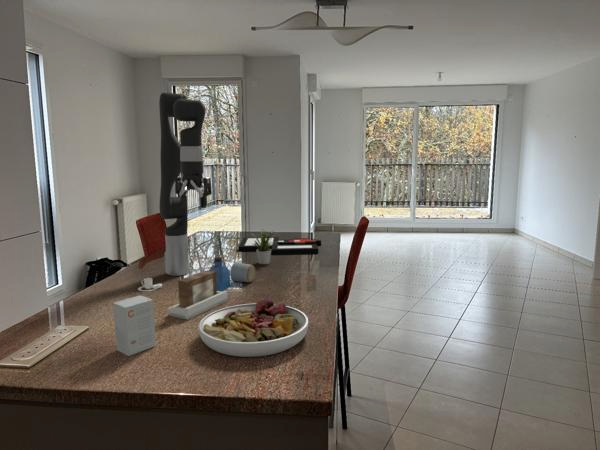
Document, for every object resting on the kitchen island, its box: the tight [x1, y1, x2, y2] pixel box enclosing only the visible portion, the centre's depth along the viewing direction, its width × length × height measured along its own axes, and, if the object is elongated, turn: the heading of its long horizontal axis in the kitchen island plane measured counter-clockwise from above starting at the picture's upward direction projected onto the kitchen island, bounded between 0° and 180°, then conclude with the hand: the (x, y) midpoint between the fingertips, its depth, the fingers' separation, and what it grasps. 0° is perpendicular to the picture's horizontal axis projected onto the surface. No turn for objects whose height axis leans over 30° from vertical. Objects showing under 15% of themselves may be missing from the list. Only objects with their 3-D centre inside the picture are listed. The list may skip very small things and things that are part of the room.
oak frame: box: [177, 269, 217, 308], centre depth 147 cm, size 14×4×10 cm, turn 152°
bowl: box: [198, 296, 309, 358], centre depth 123 cm, size 30×30×8 cm
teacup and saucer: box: [137, 277, 163, 292], centre depth 171 cm, size 9×8×4 cm
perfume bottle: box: [208, 256, 231, 292], centre depth 169 cm, size 6×6×12 cm
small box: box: [112, 295, 157, 357], centre depth 116 cm, size 8×6×13 cm
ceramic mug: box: [230, 261, 256, 283], centre depth 180 cm, size 11×8×8 cm
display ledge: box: [167, 290, 229, 320], centre depth 147 cm, size 8×20×4 cm, turn 152°
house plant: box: [250, 229, 279, 265], centre depth 208 cm, size 14×14×16 cm
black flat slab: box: [237, 236, 322, 256], centre depth 245 cm, size 36×3×45 cm
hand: (193, 207), depth 154 cm, fingers open, 8 cm apart
